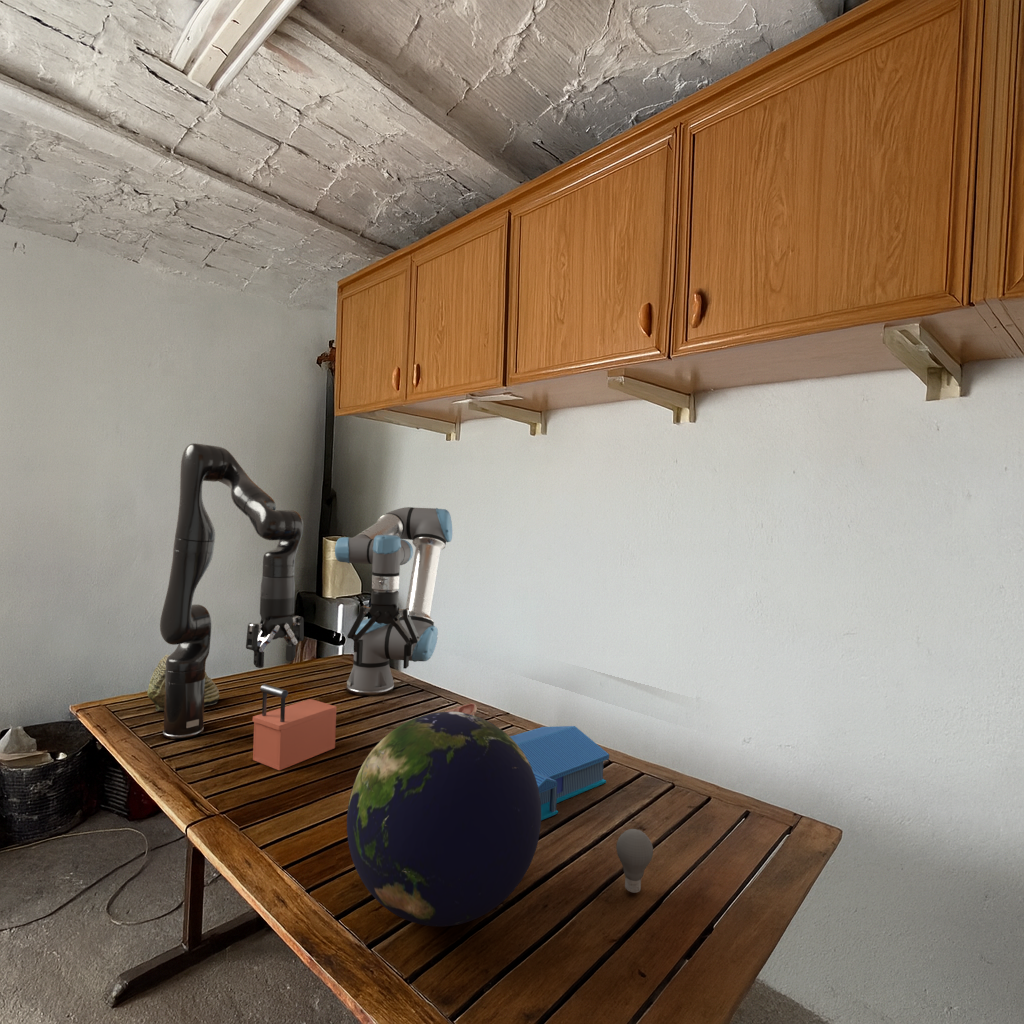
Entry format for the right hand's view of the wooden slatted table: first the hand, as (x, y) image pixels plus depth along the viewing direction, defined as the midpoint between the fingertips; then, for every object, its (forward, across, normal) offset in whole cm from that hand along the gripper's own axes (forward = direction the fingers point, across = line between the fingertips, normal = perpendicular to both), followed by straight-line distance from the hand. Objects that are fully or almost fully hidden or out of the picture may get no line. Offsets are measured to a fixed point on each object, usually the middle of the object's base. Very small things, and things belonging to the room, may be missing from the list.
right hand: (382, 665), depth 178 cm
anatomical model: (+16, +19, +7) cm, 26 cm away
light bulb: (+16, +66, -66) cm, 94 cm away
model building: (+16, +43, -34) cm, 57 cm away
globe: (+16, +35, -76) cm, 85 cm away
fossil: (+16, -59, 0) cm, 62 cm away
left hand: (-7, -16, -31) cm, 36 cm away
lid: (+7, -13, -25) cm, 29 cm away
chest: (+16, -13, -25) cm, 33 cm away
